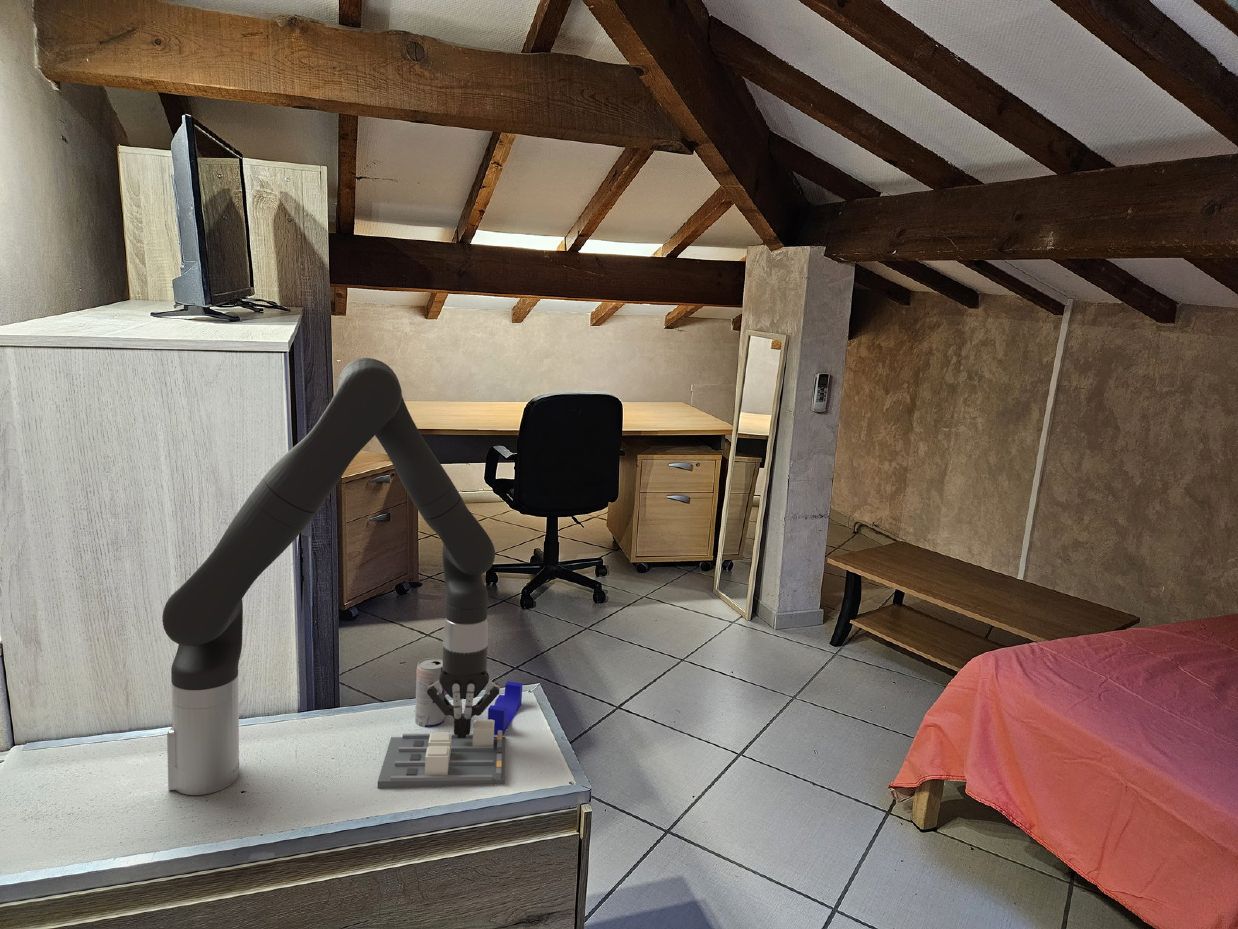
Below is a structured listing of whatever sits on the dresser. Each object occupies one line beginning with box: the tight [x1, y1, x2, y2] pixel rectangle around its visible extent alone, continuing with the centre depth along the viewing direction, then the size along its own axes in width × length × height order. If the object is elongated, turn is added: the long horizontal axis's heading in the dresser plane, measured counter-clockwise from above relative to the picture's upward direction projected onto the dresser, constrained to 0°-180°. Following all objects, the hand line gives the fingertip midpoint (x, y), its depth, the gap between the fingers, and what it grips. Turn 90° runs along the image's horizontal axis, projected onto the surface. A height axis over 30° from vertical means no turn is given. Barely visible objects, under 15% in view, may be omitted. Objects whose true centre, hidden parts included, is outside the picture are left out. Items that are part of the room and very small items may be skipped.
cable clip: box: [487, 681, 524, 737], centre depth 147 cm, size 12×4×6 cm, turn 171°
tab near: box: [425, 746, 450, 775], centre depth 127 cm, size 4×3×4 cm
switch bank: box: [377, 730, 506, 789], centre depth 132 cm, size 20×14×3 cm
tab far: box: [472, 719, 495, 746], centre depth 137 cm, size 4×3×4 cm
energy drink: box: [414, 657, 447, 728], centre depth 144 cm, size 5×5×12 cm
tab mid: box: [428, 731, 453, 760], centre depth 131 cm, size 4×3×4 cm
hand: (462, 736), depth 136 cm, fingers closed
